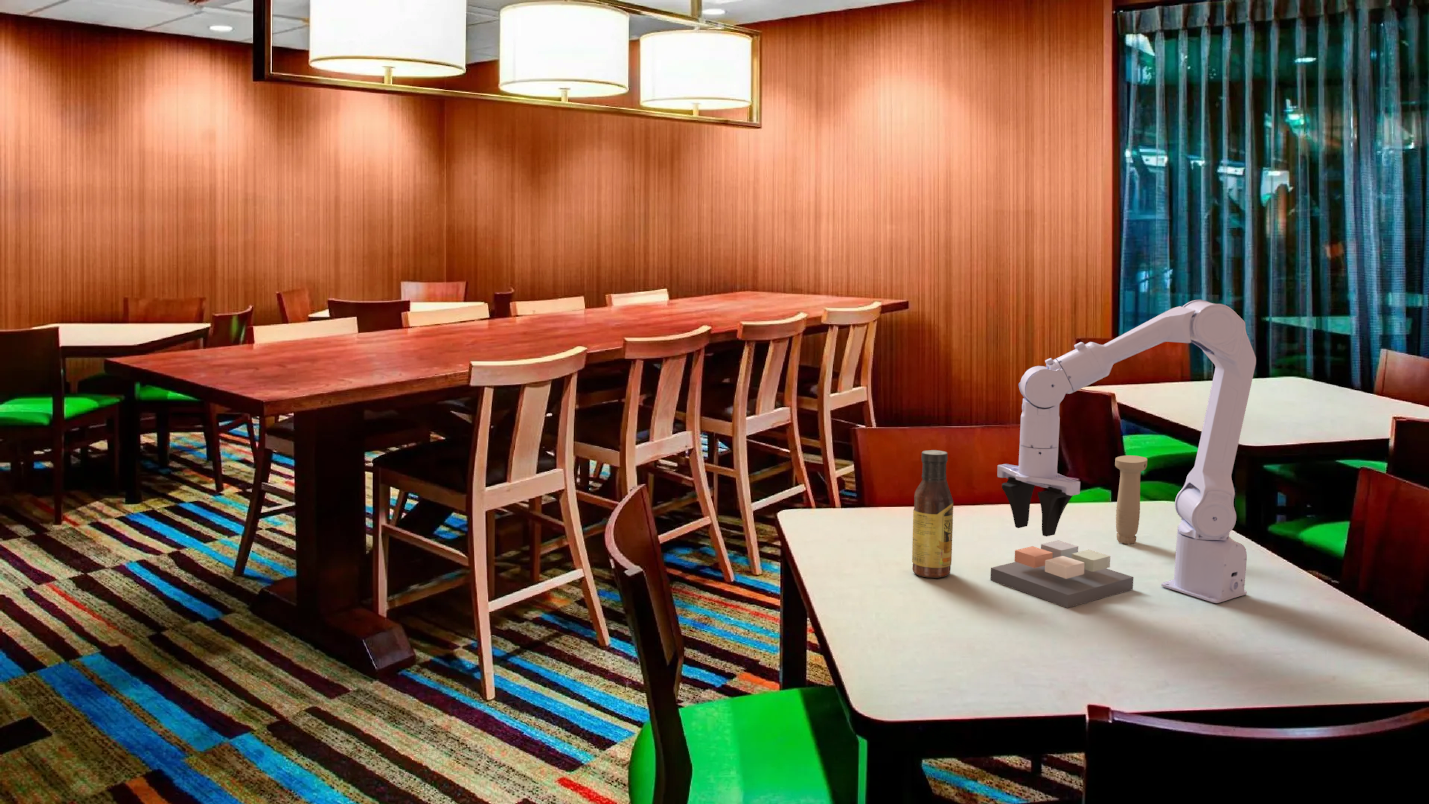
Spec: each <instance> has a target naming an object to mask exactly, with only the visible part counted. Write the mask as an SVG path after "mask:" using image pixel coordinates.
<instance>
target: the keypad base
mask: <svg viewBox="0 0 1429 804" xmlns="http://www.w3.org/2000/svg"><path fill="white" fill-rule="evenodd" d="M989 580H990V581H992V582H995V583H997V584H999V585H1003V586H1006V587H1008V588H1011V589H1013V590H1016V591H1020V592H1022V593H1026V594H1028V595H1029V596H1033V597H1036V598H1039V599H1042V600H1044V601H1046V602H1050V603H1051V604H1052V603H1053V604H1055V605H1058V606H1061V607H1063V608H1066V609H1069V608H1072V607H1076V606H1080V605H1083V604H1087V603H1090V602H1093V601H1097V600H1101V599H1104V598H1108V597H1111V596H1114V595H1118V594H1123V593H1125V592H1129V591H1133V590H1134V576H1132V575H1128V574H1125V573H1122V572H1119V571H1115V570H1113V569H1109V568H1105V569H1102V570H1098V571H1094V572H1092V571H1089V570H1085V569H1084V574H1083V575H1079V576H1075V577H1071V578H1067V579H1065V578H1062V577H1059V576H1056V575H1053V574H1051V573H1048V572H1045V566H1041V567H1037V568H1033V567H1030V566H1027V565H1024V564H1021V563H1018V562H1015V561H1013V562H1008V563H1006V564H1002V565H997V566H991V567H990V578H989Z"/></svg>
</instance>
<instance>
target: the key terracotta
mask: <svg viewBox="0 0 1429 804" xmlns="http://www.w3.org/2000/svg"><path fill="white" fill-rule="evenodd" d="M1052 557H1053V552H1049V551H1046V550H1043V549H1041V547H1036V546H1033V545H1032V546H1027V547H1023V548H1020V549H1015V550H1014V562H1018V563H1021V564H1024V565H1027V566H1030V567H1033V568H1037V567H1041V566H1045V560H1048V559H1052Z"/></svg>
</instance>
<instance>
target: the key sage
mask: <svg viewBox="0 0 1429 804" xmlns="http://www.w3.org/2000/svg"><path fill="white" fill-rule="evenodd" d="M1072 559H1075V560H1078V561H1081V562H1084V563H1085V564H1084V569H1085V570H1089V571H1092V572H1094V571H1098V570H1102V569H1105V568H1107V569H1109V568H1110V567H1111V555H1108V554H1105V553H1101V552H1098V551H1095V550H1091V549H1085V550H1081V551H1078V552H1077V553H1073V554H1072Z"/></svg>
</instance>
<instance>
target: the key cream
mask: <svg viewBox="0 0 1429 804" xmlns="http://www.w3.org/2000/svg"><path fill="white" fill-rule="evenodd" d="M1084 564H1085V563H1084V562H1081V561H1078V560H1075V559H1072V558H1068V557H1065V556H1061V557H1056V558H1052V559H1048V560H1045V572H1048V573H1051V574H1053V575H1056V576H1059V577H1062V578H1065V579H1067V578H1071V577H1075V576H1079V575H1083V574H1084Z"/></svg>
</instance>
